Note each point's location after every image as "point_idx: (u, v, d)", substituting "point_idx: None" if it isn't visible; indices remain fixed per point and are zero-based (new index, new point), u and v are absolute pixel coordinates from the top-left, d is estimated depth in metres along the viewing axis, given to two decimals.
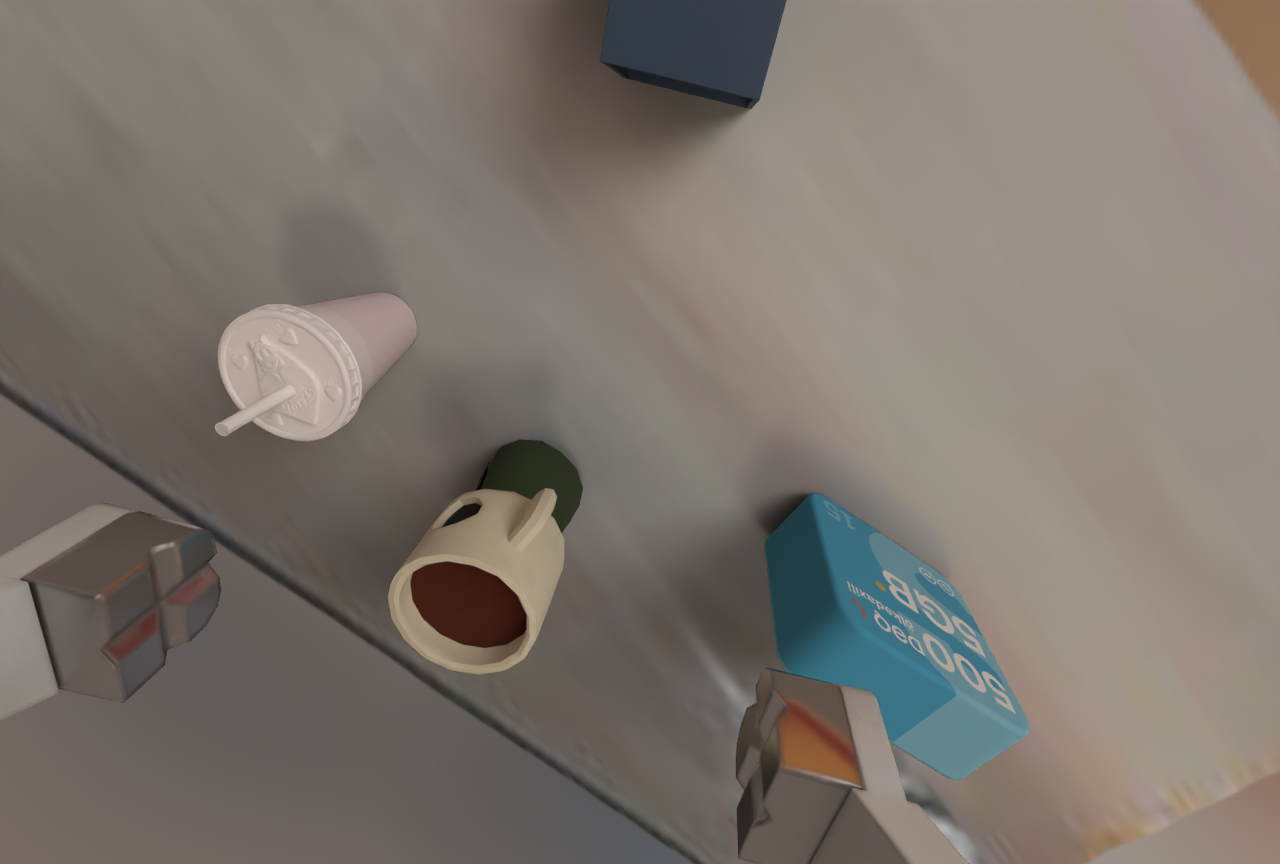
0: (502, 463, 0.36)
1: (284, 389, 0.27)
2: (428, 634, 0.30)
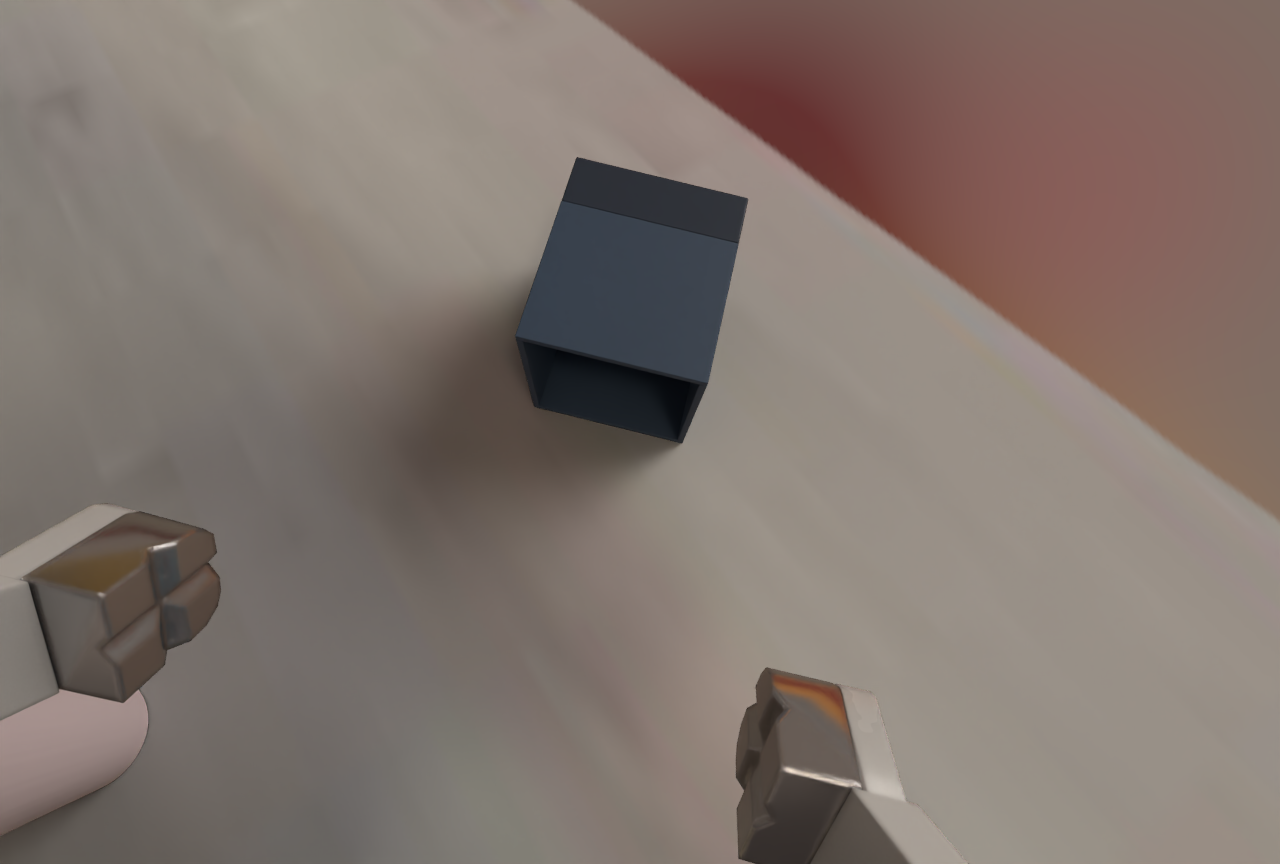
0: None
1: None
2: None
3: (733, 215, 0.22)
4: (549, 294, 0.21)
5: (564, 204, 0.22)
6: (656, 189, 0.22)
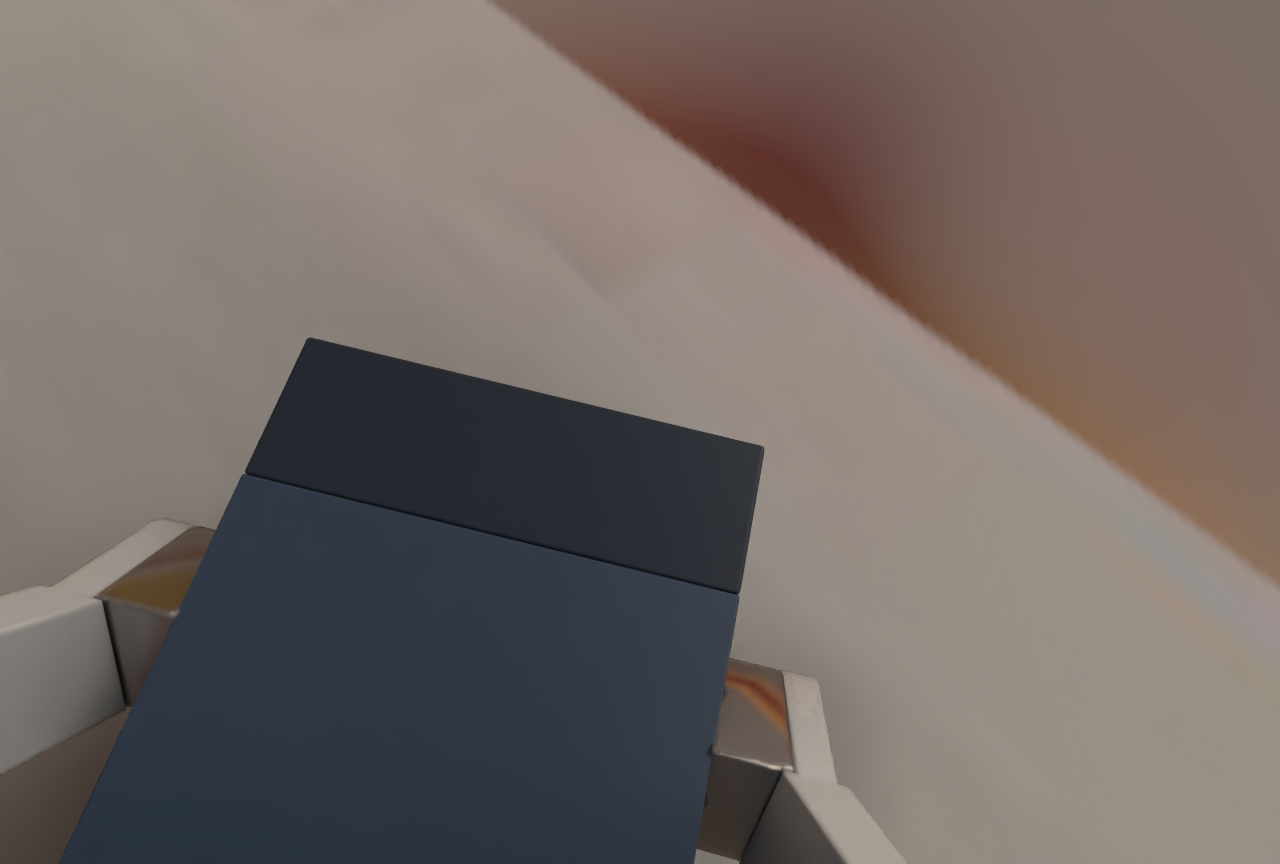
0: None
1: None
2: None
3: (725, 503, 0.08)
4: (143, 820, 0.06)
5: (248, 486, 0.08)
6: (515, 428, 0.08)
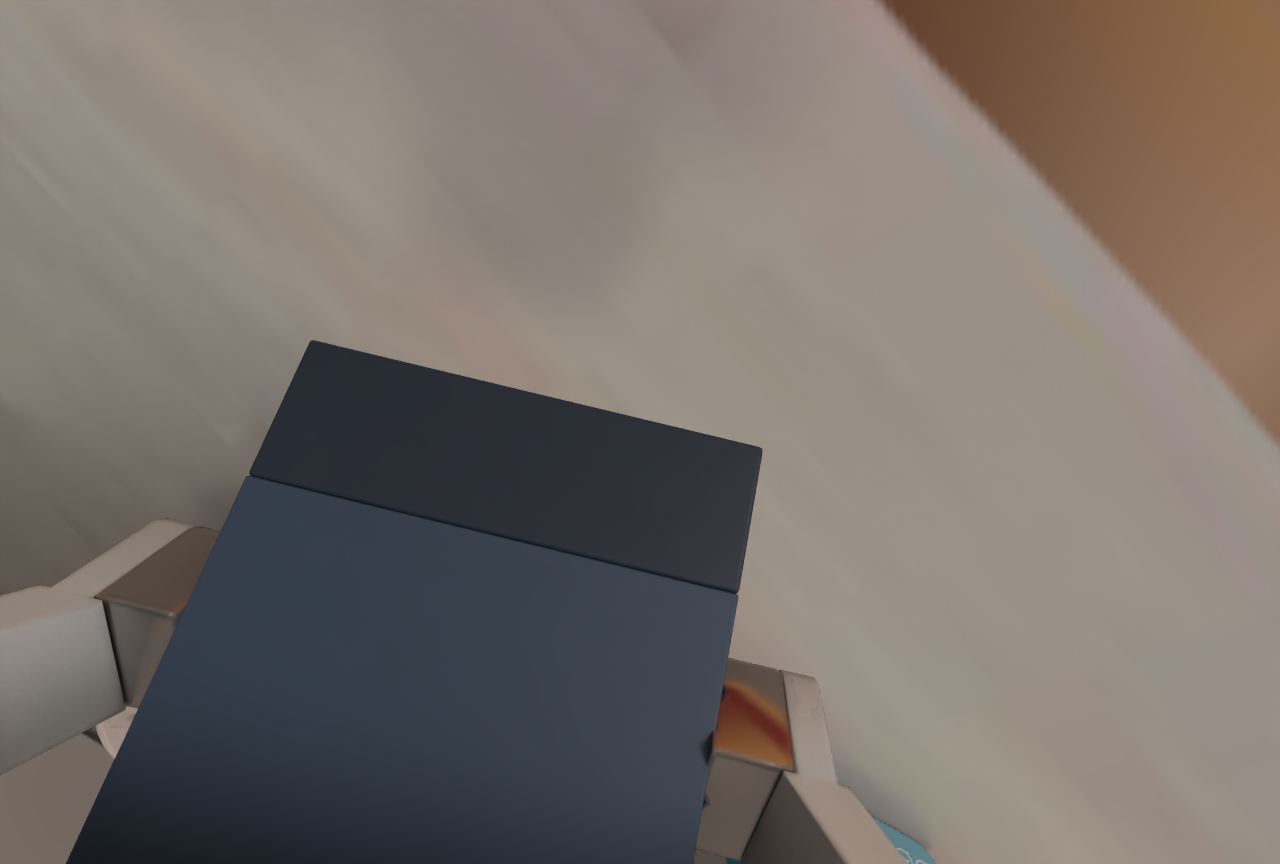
0: None
1: None
2: None
3: (724, 504, 0.08)
4: (150, 818, 0.07)
5: (252, 487, 0.08)
6: (517, 429, 0.08)
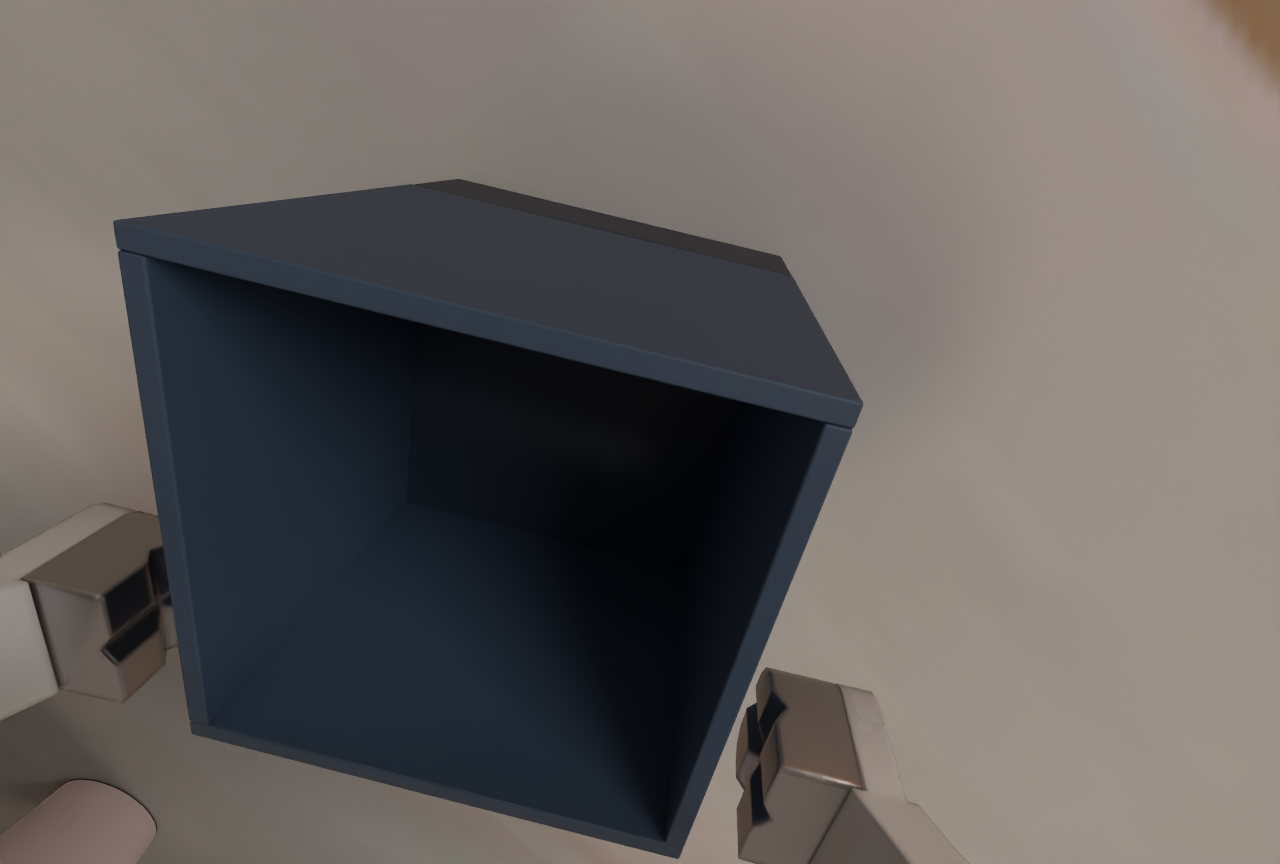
0: None
1: None
2: None
3: (765, 259, 0.11)
4: (312, 216, 0.07)
5: (415, 186, 0.10)
6: (609, 219, 0.11)
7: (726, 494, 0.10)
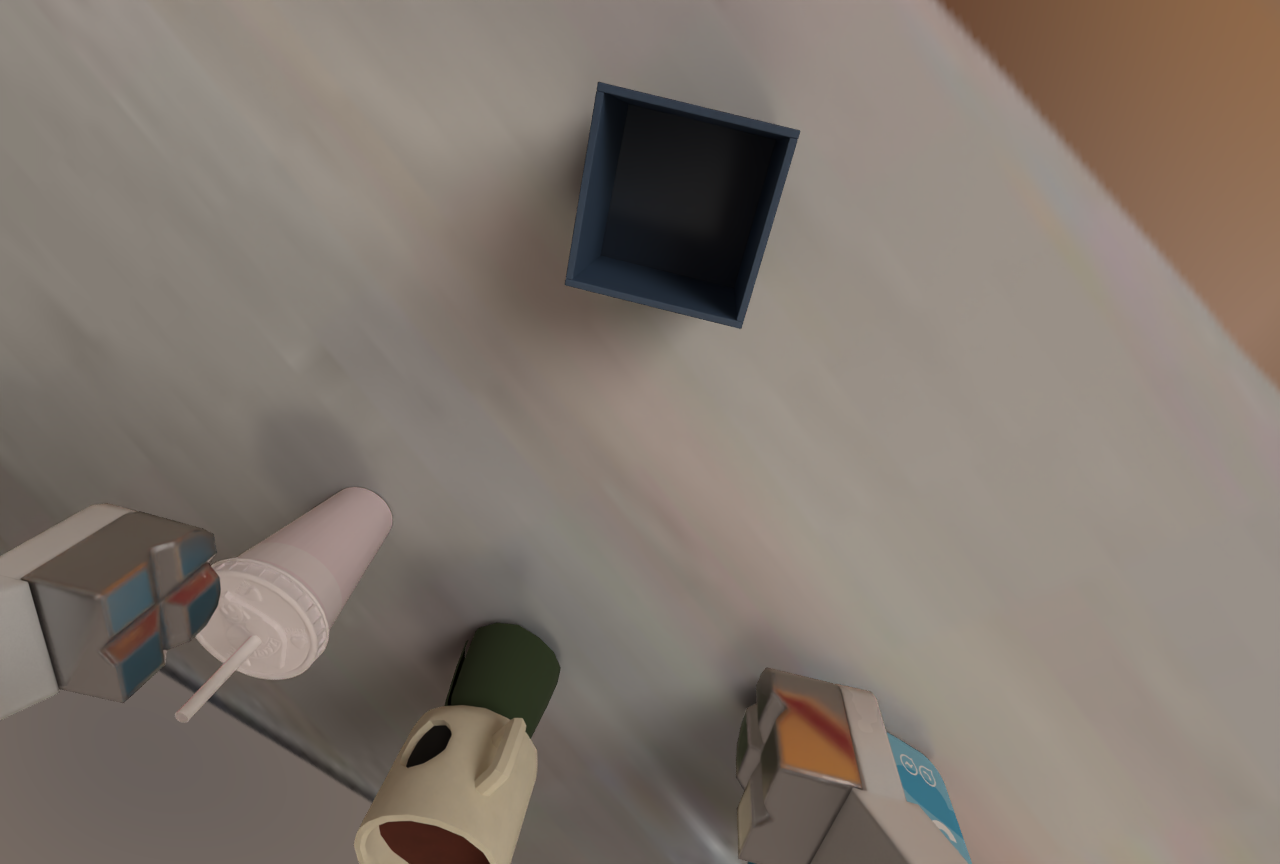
0: (477, 656, 0.36)
1: (249, 643, 0.27)
2: None
3: None
4: None
5: None
6: None
7: (756, 221, 0.24)
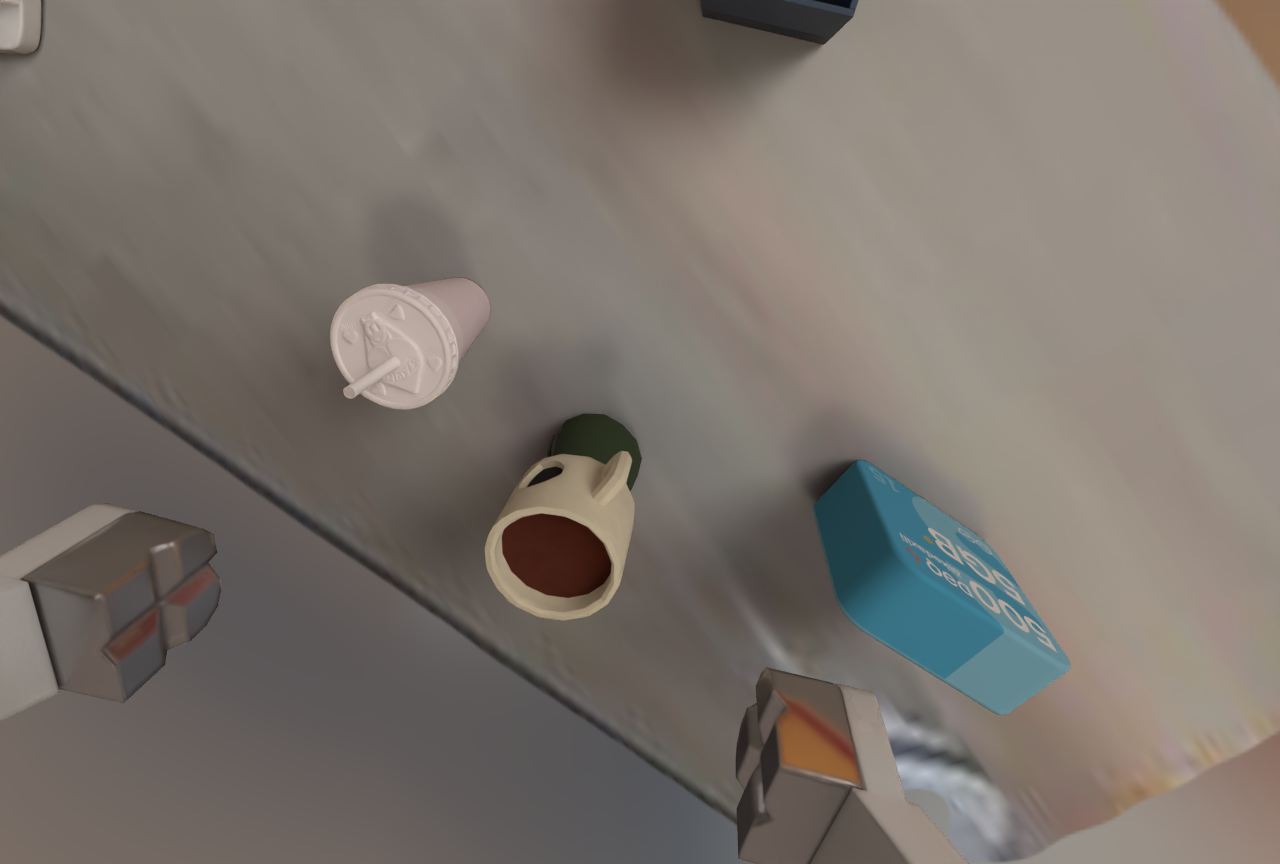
0: (570, 434, 0.39)
1: (392, 360, 0.30)
2: (517, 585, 0.33)
3: None
4: None
5: None
6: None
7: None
